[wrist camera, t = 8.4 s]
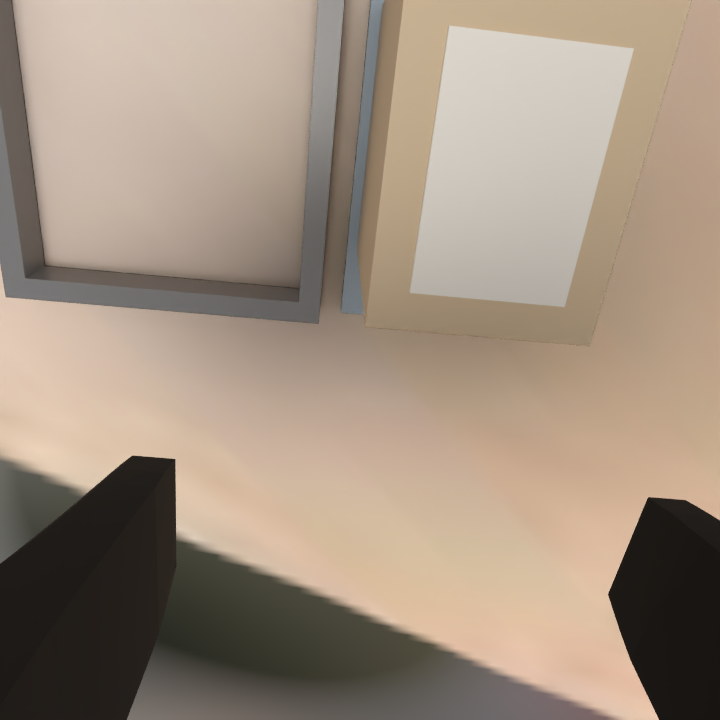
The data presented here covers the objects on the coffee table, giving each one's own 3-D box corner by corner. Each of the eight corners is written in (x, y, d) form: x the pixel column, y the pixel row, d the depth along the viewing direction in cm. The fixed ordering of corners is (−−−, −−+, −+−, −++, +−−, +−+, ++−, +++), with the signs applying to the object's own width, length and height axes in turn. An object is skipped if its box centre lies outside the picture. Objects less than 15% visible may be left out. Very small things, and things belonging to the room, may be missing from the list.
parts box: (561, 28, 15) (695, -4, 9) (510, 262, 17) (591, 348, 12) (382, 5, 14) (408, -43, 9) (356, 247, 17) (365, 328, 11)
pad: (624, -56, 14) (633, -61, 14) (530, 324, 19) (535, 330, 18) (379, -91, 14) (380, -96, 13) (340, 307, 18) (341, 313, 18)
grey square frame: (352, -99, 14) (353, -115, 13) (319, 309, 18) (318, 323, 17) (-36, -153, 13) (-70, -174, 12) (26, 283, 17) (5, 297, 16)
